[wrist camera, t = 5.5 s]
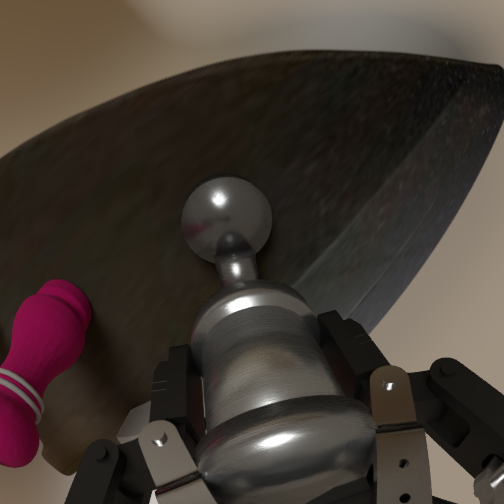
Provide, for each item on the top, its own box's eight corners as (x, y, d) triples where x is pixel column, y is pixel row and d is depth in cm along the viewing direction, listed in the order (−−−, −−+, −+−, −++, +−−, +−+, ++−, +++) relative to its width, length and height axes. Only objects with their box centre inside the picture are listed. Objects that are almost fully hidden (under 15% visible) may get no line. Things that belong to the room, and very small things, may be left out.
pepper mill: (31, 312, 25) (-51, 458, 7) (44, 260, 24) (-74, 418, 5) (86, 344, 28) (33, 509, 10) (106, 297, 26) (35, 491, 8)
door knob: (175, 295, 11) (165, 464, 5) (307, 266, 12) (405, 402, 5) (208, 385, 13) (224, 520, 7) (314, 360, 14) (372, 481, 7)
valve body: (218, 355, 30) (227, 439, 21) (168, 186, 23) (141, 229, 13) (291, 338, 31) (324, 416, 21) (265, 165, 24) (309, 191, 14)
